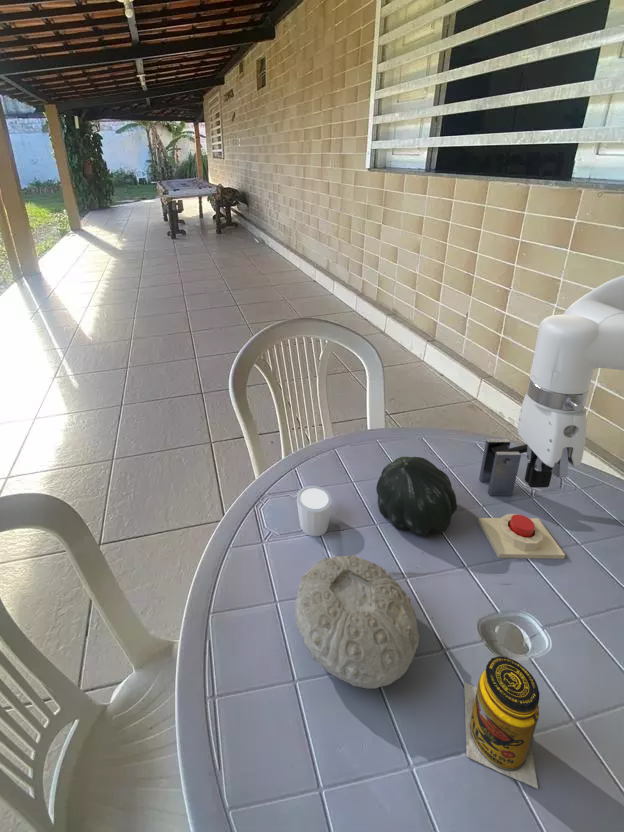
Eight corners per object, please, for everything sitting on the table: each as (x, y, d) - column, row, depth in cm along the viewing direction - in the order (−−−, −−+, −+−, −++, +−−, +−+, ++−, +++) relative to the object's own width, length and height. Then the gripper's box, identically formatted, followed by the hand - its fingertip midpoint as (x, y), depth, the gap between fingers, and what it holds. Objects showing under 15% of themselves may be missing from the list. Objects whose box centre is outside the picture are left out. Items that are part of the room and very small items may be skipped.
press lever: (555, 436, 87) (554, 427, 86) (571, 452, 82) (570, 442, 82) (489, 452, 89) (487, 443, 89) (501, 468, 85) (499, 459, 84)
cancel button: (525, 521, 78) (527, 514, 78) (537, 537, 75) (539, 530, 74) (505, 521, 79) (507, 514, 78) (516, 537, 75) (517, 530, 75)
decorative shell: (404, 588, 71) (409, 545, 68) (427, 717, 55) (436, 669, 52) (298, 575, 75) (297, 533, 71) (291, 693, 59) (289, 646, 55)
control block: (536, 526, 81) (540, 510, 80) (562, 564, 74) (567, 547, 72) (476, 526, 82) (479, 510, 81) (497, 563, 75) (501, 546, 73)
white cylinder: (332, 540, 81) (332, 513, 79) (296, 537, 82) (295, 510, 80) (330, 512, 87) (331, 486, 85) (297, 510, 89) (296, 484, 86)
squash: (467, 481, 86) (419, 428, 85) (476, 542, 73) (419, 481, 73) (408, 503, 94) (363, 454, 93) (406, 562, 81) (354, 507, 80)
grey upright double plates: (512, 477, 94) (521, 432, 89) (536, 508, 85) (547, 461, 81) (456, 477, 95) (463, 433, 90) (474, 508, 86) (482, 461, 82)
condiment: (466, 757, 51) (480, 697, 47) (463, 683, 59) (476, 625, 54) (537, 790, 48) (560, 729, 44) (526, 707, 56) (544, 648, 51)
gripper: (618, 419, 59) (589, 518, 66) (551, 369, 73) (534, 455, 80) (561, 421, 60) (539, 518, 67) (506, 370, 74) (492, 456, 80)
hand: (536, 483), depth 73 cm, fingers closed
